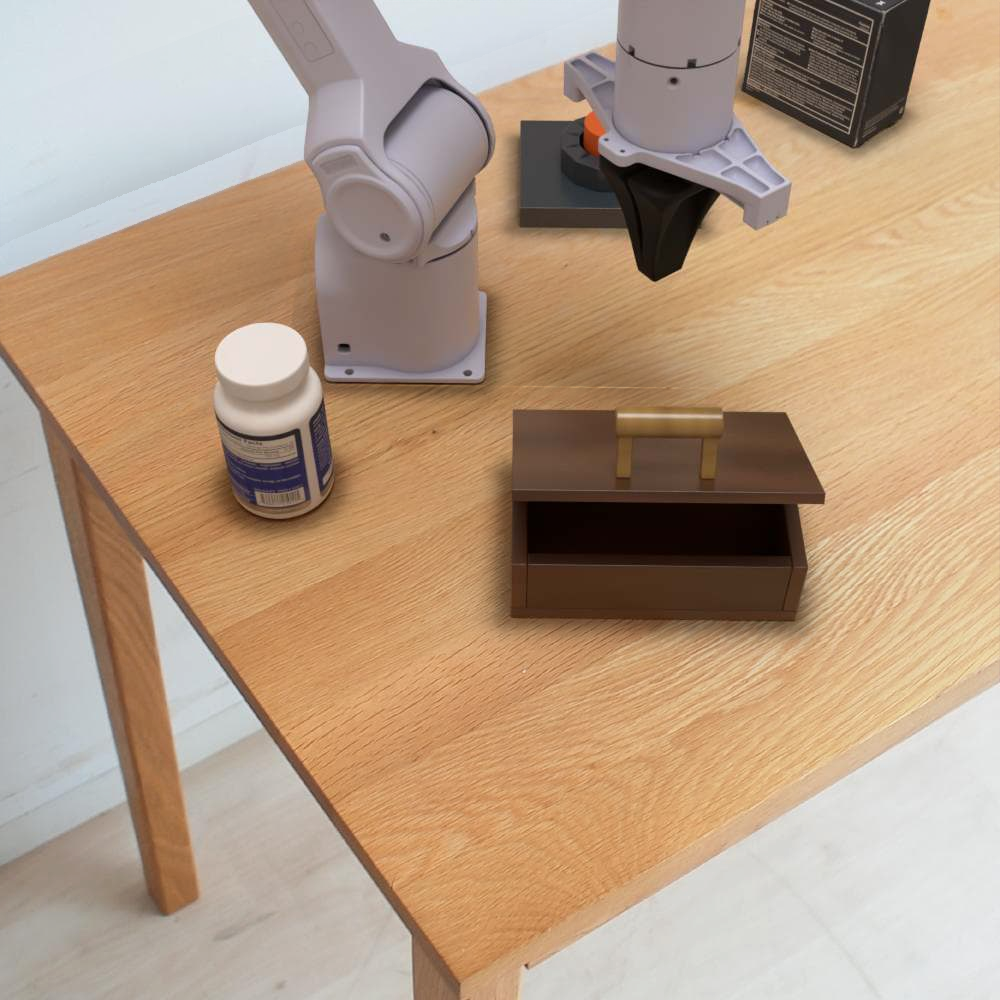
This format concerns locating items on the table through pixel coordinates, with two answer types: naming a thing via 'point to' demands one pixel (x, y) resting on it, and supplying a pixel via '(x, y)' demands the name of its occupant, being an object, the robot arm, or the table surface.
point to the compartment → (656, 560)
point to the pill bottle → (272, 421)
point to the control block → (563, 179)
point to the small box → (835, 61)
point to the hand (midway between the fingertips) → (660, 269)
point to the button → (592, 134)
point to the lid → (660, 456)
